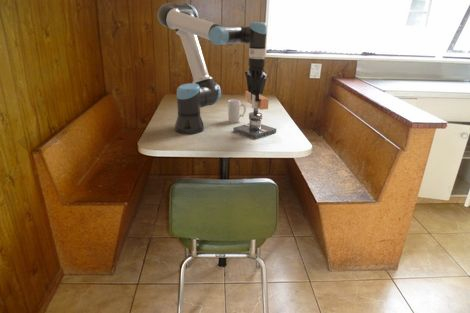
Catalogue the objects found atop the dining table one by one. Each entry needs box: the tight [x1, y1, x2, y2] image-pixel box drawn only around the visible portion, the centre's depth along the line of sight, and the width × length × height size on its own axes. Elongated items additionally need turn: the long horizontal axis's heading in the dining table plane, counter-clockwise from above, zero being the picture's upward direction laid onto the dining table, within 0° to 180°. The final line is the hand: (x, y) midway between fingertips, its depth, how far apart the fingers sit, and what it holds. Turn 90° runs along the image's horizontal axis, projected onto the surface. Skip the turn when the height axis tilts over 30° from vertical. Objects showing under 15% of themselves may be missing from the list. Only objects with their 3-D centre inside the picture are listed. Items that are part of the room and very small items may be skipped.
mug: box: [227, 98, 247, 124], centre depth 194 cm, size 10×7×12 cm, turn 87°
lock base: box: [232, 119, 277, 140], centre depth 178 cm, size 16×16×7 cm
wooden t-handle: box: [245, 90, 270, 121], centre depth 174 cm, size 7×20×12 cm, turn 20°
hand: (254, 107), depth 166 cm, fingers closed
